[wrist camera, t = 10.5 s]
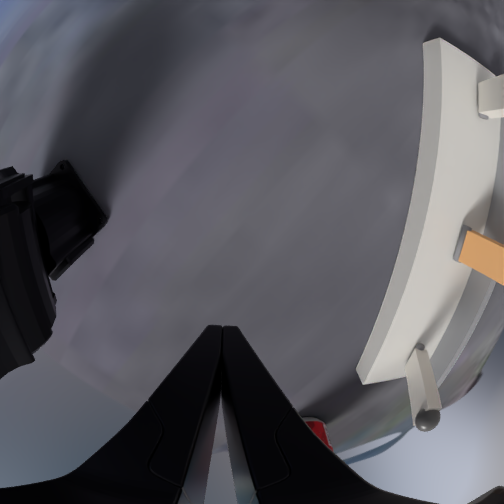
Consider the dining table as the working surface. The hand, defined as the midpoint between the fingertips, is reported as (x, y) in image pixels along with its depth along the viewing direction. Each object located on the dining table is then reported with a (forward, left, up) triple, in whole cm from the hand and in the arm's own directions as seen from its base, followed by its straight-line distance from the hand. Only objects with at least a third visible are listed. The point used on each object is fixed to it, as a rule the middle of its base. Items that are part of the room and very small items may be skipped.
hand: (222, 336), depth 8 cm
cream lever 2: (+1, +24, -10) cm, 26 cm away
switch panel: (+12, +16, -13) cm, 24 cm away
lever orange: (+12, +16, -10) cm, 22 cm away
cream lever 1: (+22, +8, -10) cm, 26 cm away
